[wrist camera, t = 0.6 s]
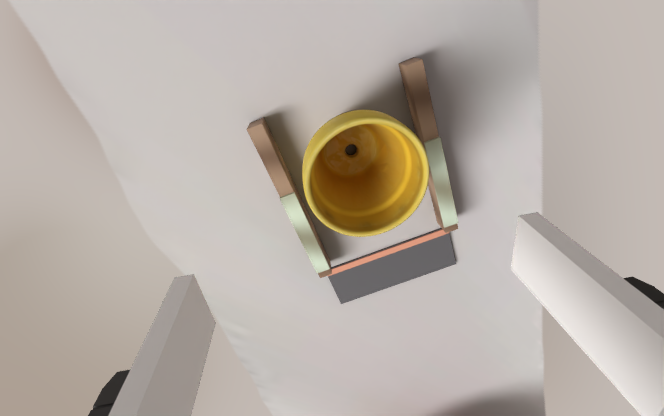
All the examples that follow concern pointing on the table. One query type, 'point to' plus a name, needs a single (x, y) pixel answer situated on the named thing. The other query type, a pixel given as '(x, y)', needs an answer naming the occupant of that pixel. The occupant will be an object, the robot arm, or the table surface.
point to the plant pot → (364, 173)
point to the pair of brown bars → (424, 131)
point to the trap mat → (392, 265)
